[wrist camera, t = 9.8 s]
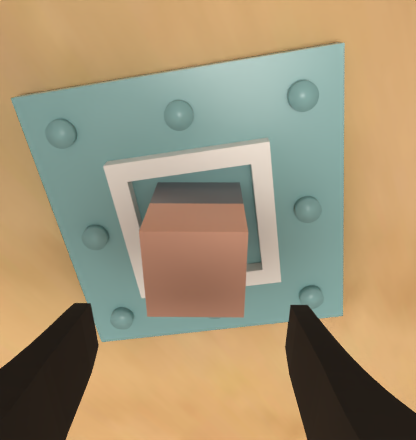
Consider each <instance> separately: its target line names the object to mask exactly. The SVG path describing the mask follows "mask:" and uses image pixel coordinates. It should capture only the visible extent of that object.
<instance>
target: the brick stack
mask: <svg viewBox="0 0 416 440" xmlns="http://www.w3.org/2000/svg"><path fill="white" fill-rule="evenodd" d="M139 237H140V247H141V258H142V268H143V278H144V289H145V299H146V309H147V317H243V318H244V308H245V288H246V269H247V249H248V227H247V221H246V215H245V210H244V204H243V198H242V192H241V187H240V182H158V183H157V186H156V188H155V191H154V193H153V196H152V199H151V201H150V204H149V207H148V209H147V212H146V214H145V217H144V220H143V222H142V225H141V227H140V230H139Z"/></svg>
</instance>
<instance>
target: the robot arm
mask: <svg viewBox="0 0 416 440" xmlns="http://www.w3.org/2000/svg"><path fill="white" fill-rule="evenodd" d="M285 349H286V355H287V362H288V368H289V375H290V378H291V382H292V386H293V389H294V393H295V397H296V400H297V404H298V407H299V411H300V415H301V418H302V422H303V425H304V429H305V433H306V436H307V440H416V413H415V412H414V411H412V410H411V409H410V408H408V407H407V406H406V405H405V404H403V403H402V402H401V401H399V400H398V399H397V398H395V397H394V396H393V395H392V394H391V393H389V392H388V391H387V390H386V389H385V388H383V387H382V386H381V385H380V384H379V383H378V382H377V381H376V380H374V379H373V378H372V377H371V376H370V375H369V374H368V373H367V372H366V371H365V370H364V369H363V368H362V367H361V366H360V365H359V364H358V363H357V362H356V361H355V360H354V359H353V358H352V357H351V356H350V355H349V354H348V353H347V352H346V351H345V349H344V348H343V347H342V346H341V345H340V344H339V343H338V341H337V340H336V339H335V338H334V337H333V336H332V334H331V333H330V332H329V331H328V330H327V328H326V327H325V326H324V325H323V323H322V322H321V321H320V320H319V318H318V317H317V316H316V315H315V313H314V312H313V311H312V309H311V308H310V307H309V306H308V305H290V312H289V321H288V329H287V337H286V346H285ZM97 350H98V340H97V335H96V329H95V323H94V318H93V312H92V307H91V303H74V304H73V305H72V306H71V307H70V308H68V309H67V310H66V311H65V312H64V313H63V314H62V315H61V316H60V317H59V318H58V319H57V320H56V321H55V322H54V323H53V324H52V325H50V326H49V327H48V328H47V329H46V330H45V331H44V332H43V333H42V334H41V335H40V336H39V337H37V338H36V339H35V340H34V341H33V342H32V343H31V344H30V345H29V346H27V347H26V348H25V349H24V350H23V351H21V352H20V353H19V354H18V355H17V356H15V357H14V358H13V359H12V360H11V361H10V362H8V363H7V364H6V365H4V366H3V367H2V368H1V369H0V440H66V437H67V434H68V431H69V429H70V426H71V424H72V421H73V419H74V416H75V414H76V411H77V409H78V406H79V404H80V401H81V399H82V396H83V394H84V391H85V389H86V386H87V383H88V381H89V378H90V376H91V373H92V369H93V366H94V362H95V358H96V354H97Z"/></svg>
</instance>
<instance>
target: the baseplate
mask: <svg viewBox="0 0 416 440" xmlns="http://www.w3.org/2000/svg"><path fill="white" fill-rule="evenodd" d="M11 100H12V103H13V105H14V108H15V111H16V113H17V116H18V119H19V121H20V124H21V127H22V130H23V132H24V135H25V138H26V140H27V143H28V146H29V148H30V151H31V154H32V156H33V159H34V162H35V164H36V167H37V170H38V172H39V175H40V178H41V180H42V183H43V186H44V188H45V191H46V194H47V197H48V199H49V202H50V205H51V207H52V210H53V213H54V215H55V218H56V221H57V223H58V226H59V229H60V231H61V234H62V237H63V239H64V242H65V245H66V247H67V250H68V253H69V255H70V258H71V261H72V264H73V266H74V269H75V272H76V274H77V277H78V280H79V282H80V285H81V288H82V290H83V293H84V296H85V298H86V301H87V303H91V307H92V312H93V318H94V322H95V325H96V328H97V330H98V333H99V336H100V339H101V341H102V342H106V341H116V340H125V339H134V338H143V337H153V336H162V335H171V334H180V333H190V332H199V331H208V330H217V329H227V328H236V327H245V326H254V325H264V324H273V323H282V322H288V321H289V312H290V305H308V306H309V307H310V308H311V309H312V311H313V312H314V313H315V315H316V316H317V317H318V318H328V317H338V316H343V208H344V43H341V42H337V43H331V44H325V45H319V46H313V47H307V48H301V49H295V50H289V51H283V52H277V53H271V54H265V55H259V56H253V57H247V58H241V59H235V60H229V61H223V62H217V63H211V64H205V65H199V66H193V67H187V68H181V69H175V70H169V71H163V72H157V73H151V74H145V75H139V76H133V77H127V78H121V79H115V80H109V81H103V82H97V83H91V84H85V85H79V86H73V87H67V88H61V89H55V90H49V91H43V92H37V93H31V94H25V95H20V96H16V97H13V98H11ZM158 182H240V187H241V192H242V198H243V204H244V210H245V215H246V221H247V227H248V249H247V269H246V288H245V308H244V318H243V317H147V309H146V299H145V289H144V278H143V268H142V258H141V247H140V237H139V230H140V227H141V225H142V222H143V220H144V217H145V214H146V212H147V209H148V207H149V204H150V201H151V199H152V196H153V193H154V191H155V188H156V186H157V183H158Z"/></svg>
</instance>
